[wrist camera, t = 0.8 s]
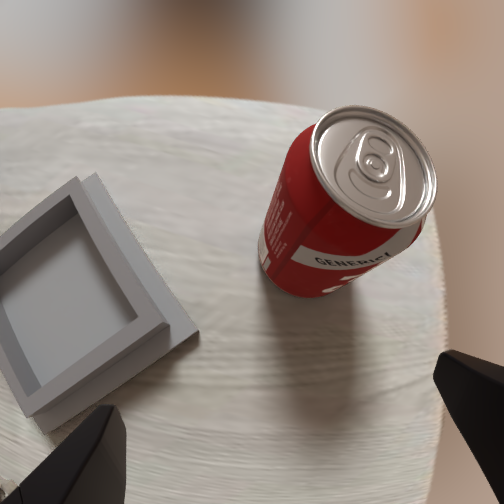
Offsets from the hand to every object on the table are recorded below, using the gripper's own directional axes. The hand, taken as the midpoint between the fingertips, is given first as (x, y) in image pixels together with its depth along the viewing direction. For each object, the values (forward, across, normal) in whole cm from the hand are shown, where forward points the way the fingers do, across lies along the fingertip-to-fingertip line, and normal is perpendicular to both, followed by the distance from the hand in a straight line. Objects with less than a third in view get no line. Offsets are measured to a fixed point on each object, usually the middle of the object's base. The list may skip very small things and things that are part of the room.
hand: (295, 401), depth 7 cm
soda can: (+15, -5, +1) cm, 16 cm away
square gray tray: (+14, +12, +3) cm, 19 cm away
